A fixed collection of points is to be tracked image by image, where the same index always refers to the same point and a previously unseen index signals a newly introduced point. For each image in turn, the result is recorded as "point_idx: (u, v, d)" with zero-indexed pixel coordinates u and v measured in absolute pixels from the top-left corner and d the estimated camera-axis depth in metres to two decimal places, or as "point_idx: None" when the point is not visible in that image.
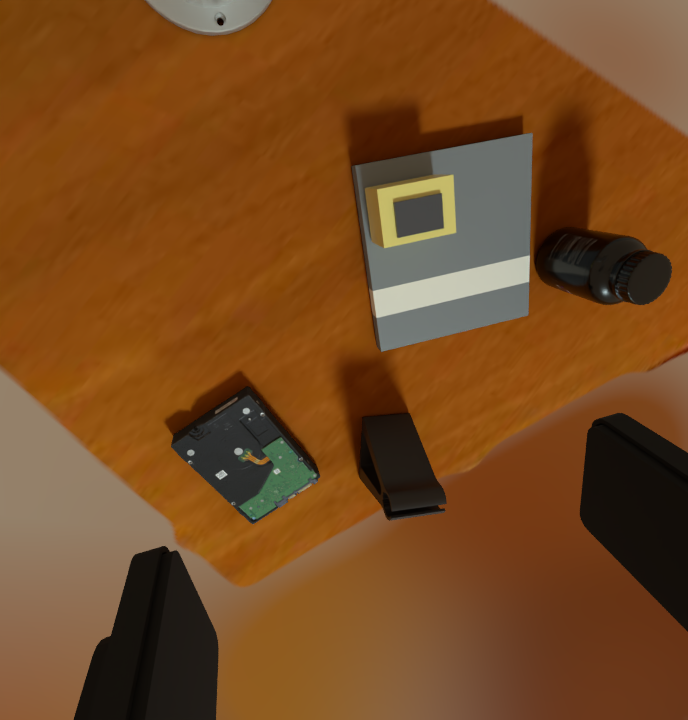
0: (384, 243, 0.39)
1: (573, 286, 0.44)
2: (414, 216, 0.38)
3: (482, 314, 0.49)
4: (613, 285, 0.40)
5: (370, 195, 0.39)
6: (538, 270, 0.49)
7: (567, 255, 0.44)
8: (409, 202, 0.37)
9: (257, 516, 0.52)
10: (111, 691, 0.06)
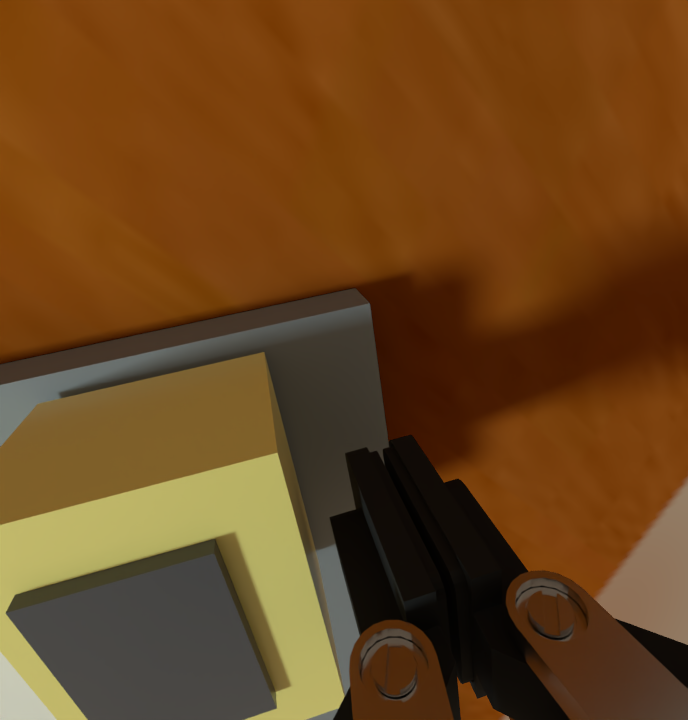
0: None
1: None
2: (154, 650, 0.07)
3: None
4: None
5: (237, 393, 0.08)
6: None
7: None
8: (223, 614, 0.07)
9: None
10: (389, 528, 0.07)
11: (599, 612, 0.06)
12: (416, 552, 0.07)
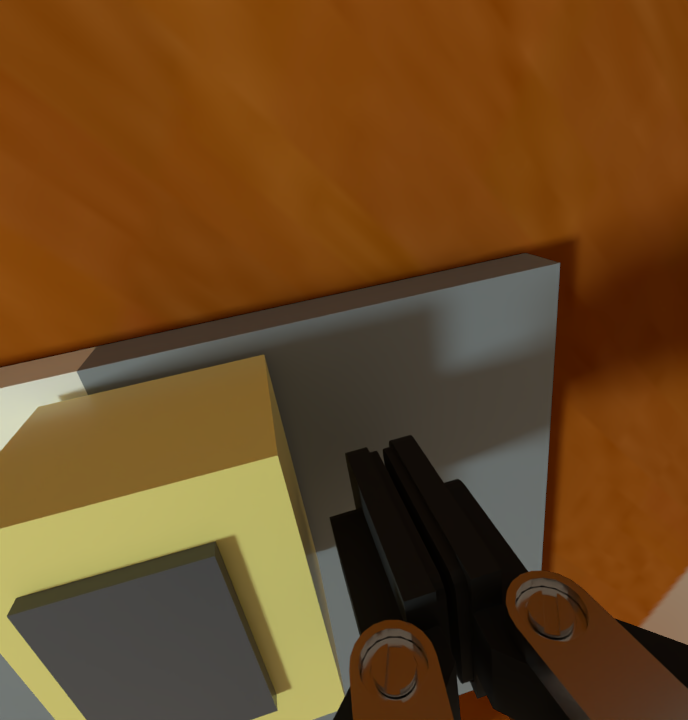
0: None
1: None
2: (155, 652, 0.07)
3: None
4: None
5: (238, 396, 0.08)
6: None
7: None
8: (224, 616, 0.07)
9: None
10: (389, 528, 0.07)
11: (599, 612, 0.06)
12: (416, 552, 0.07)
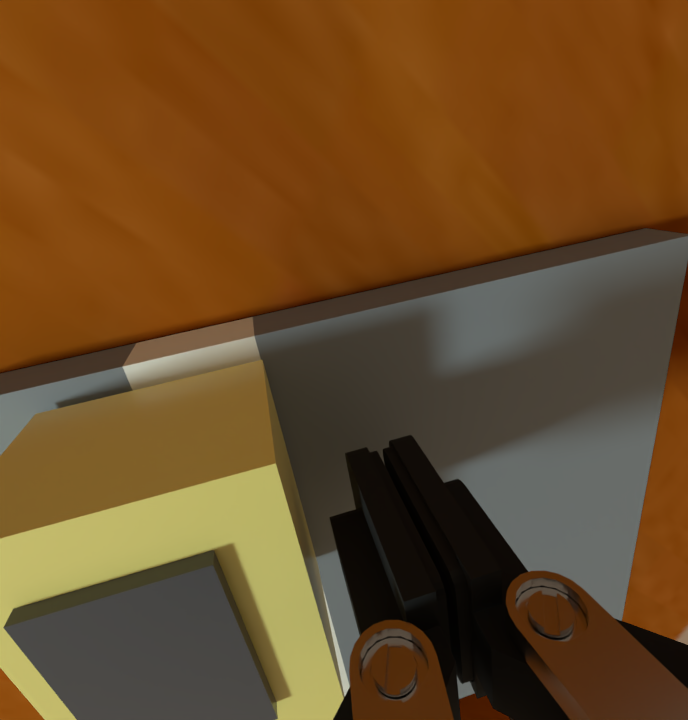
0: None
1: None
2: (153, 662, 0.07)
3: None
4: None
5: (235, 402, 0.08)
6: None
7: None
8: (223, 625, 0.07)
9: None
10: (389, 528, 0.07)
11: (599, 612, 0.06)
12: (416, 552, 0.07)
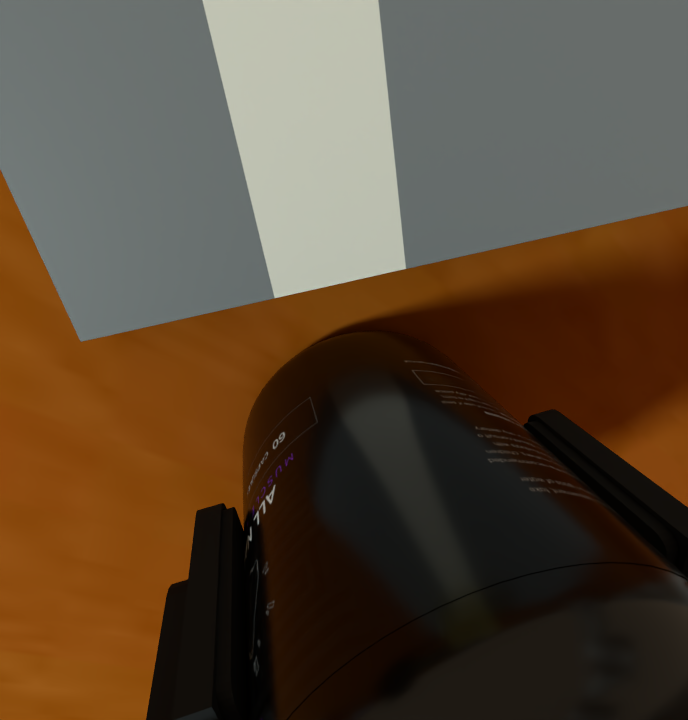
0: None
1: (344, 521, 0.06)
2: None
3: None
4: None
5: None
6: (319, 346, 0.11)
7: (492, 419, 0.08)
8: None
9: None
10: (198, 615, 0.07)
11: None
12: (216, 648, 0.06)
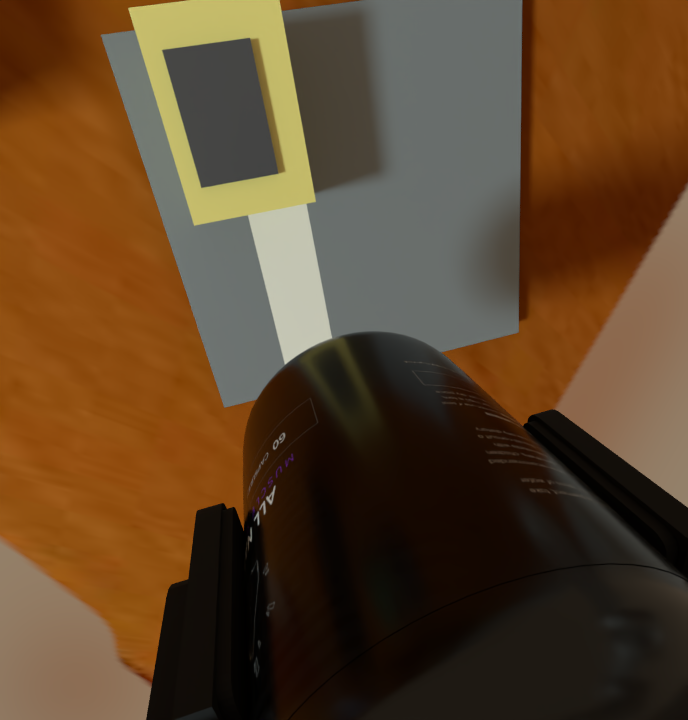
0: (142, 9, 0.14)
1: (344, 521, 0.06)
2: (221, 100, 0.15)
3: (221, 309, 0.23)
4: None
5: None
6: (319, 347, 0.11)
7: (493, 420, 0.08)
8: (253, 84, 0.16)
9: None
10: (198, 615, 0.07)
11: None
12: (216, 648, 0.06)
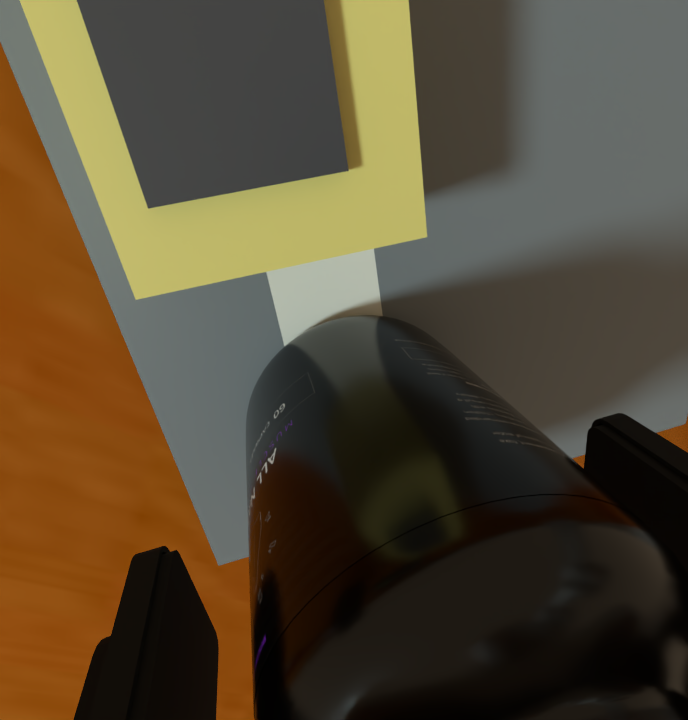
0: None
1: (337, 469, 0.07)
2: None
3: (212, 416, 0.13)
4: None
5: None
6: (316, 329, 0.12)
7: (472, 388, 0.08)
8: None
9: None
10: (111, 691, 0.06)
11: None
12: None
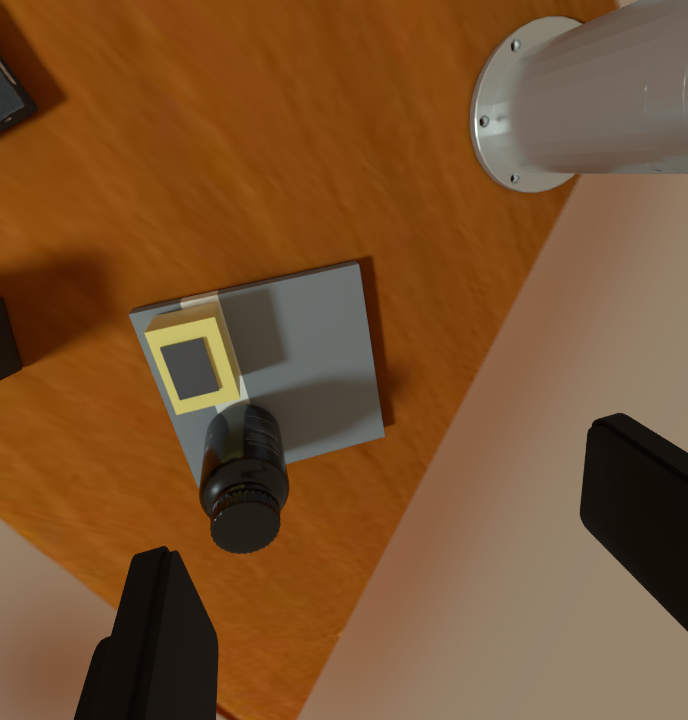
0: (150, 332, 0.31)
1: (217, 449, 0.33)
2: (188, 364, 0.32)
3: (195, 435, 0.39)
4: (232, 489, 0.30)
5: (208, 310, 0.33)
6: (226, 410, 0.38)
7: (255, 431, 0.35)
8: (204, 356, 0.32)
9: None
10: (111, 691, 0.06)
11: None
12: None
